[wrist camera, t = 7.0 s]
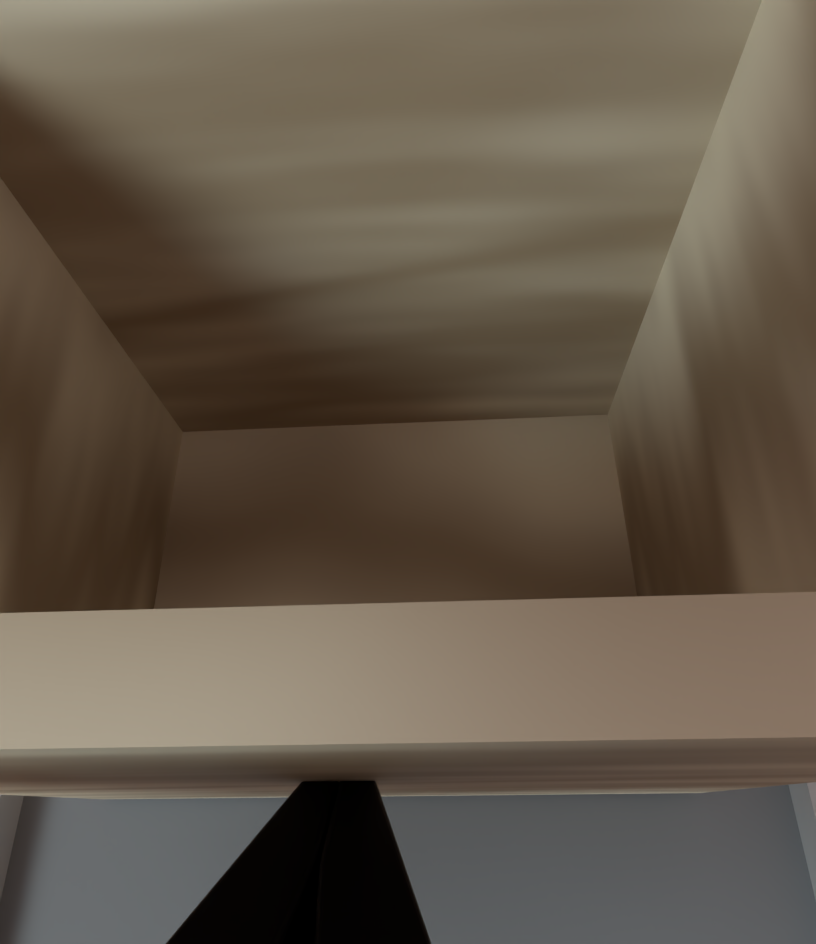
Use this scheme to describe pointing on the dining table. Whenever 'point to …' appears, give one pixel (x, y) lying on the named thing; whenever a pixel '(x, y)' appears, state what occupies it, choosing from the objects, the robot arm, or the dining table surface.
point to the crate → (407, 396)
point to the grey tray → (440, 865)
